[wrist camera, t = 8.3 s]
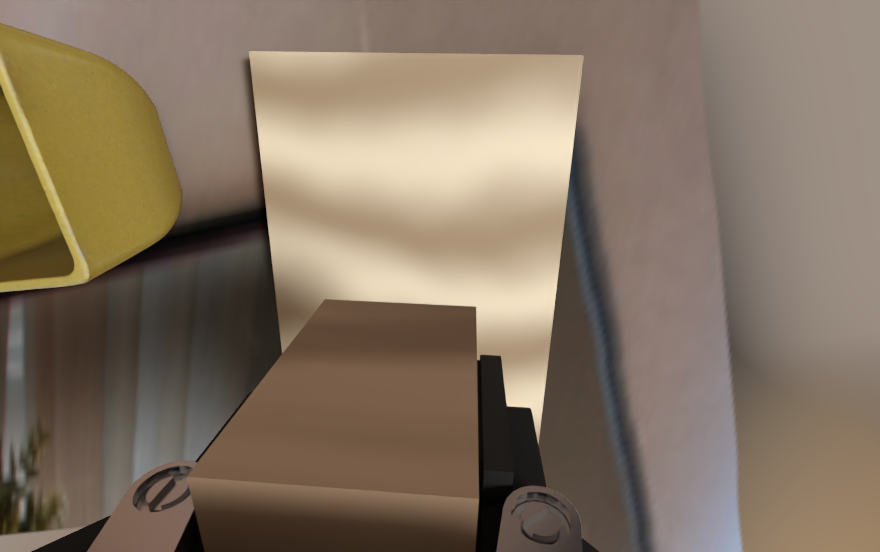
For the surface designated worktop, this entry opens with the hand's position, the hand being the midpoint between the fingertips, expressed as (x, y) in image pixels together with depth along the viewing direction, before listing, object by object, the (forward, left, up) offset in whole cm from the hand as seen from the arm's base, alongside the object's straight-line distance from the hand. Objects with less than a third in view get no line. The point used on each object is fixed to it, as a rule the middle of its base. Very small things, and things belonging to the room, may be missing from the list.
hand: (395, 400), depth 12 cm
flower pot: (-5, -17, -13) cm, 22 cm away
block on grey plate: (+3, 0, -1) cm, 4 cm away
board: (+4, -1, -13) cm, 14 cm away
